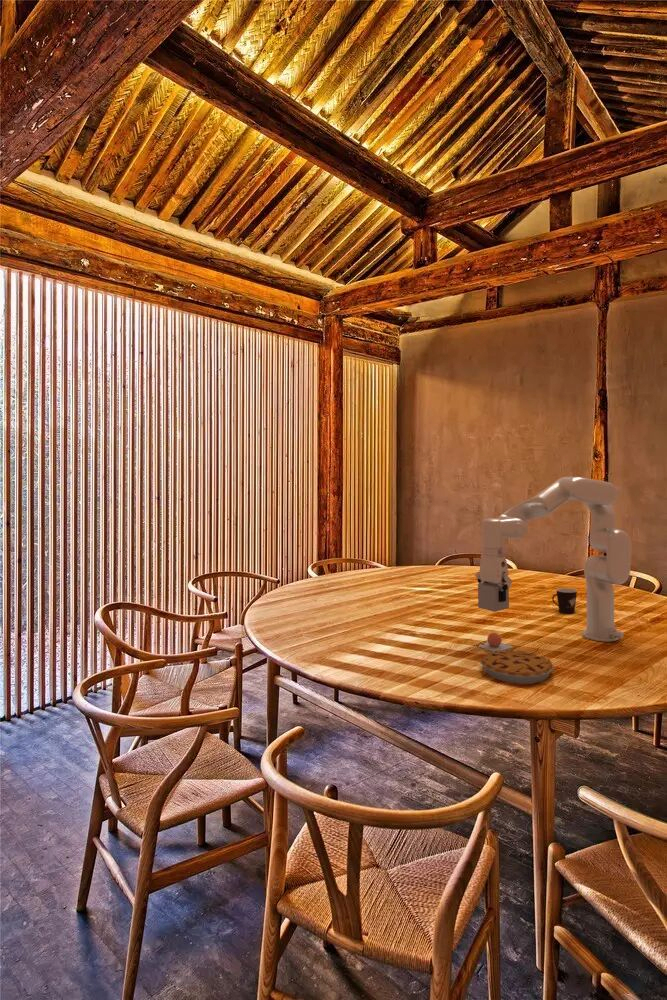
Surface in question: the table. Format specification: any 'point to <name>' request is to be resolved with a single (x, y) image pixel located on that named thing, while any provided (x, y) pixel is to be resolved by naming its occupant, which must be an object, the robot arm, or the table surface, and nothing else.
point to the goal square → (493, 649)
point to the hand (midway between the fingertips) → (493, 599)
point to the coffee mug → (566, 600)
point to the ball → (494, 639)
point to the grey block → (491, 597)
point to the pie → (517, 666)
